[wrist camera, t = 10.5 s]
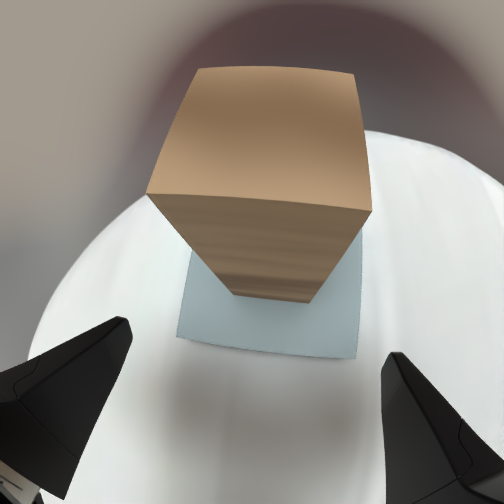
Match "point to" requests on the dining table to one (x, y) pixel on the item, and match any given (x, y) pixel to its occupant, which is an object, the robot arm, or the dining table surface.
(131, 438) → the dining table surface
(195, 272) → the slate base
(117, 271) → the dining table surface
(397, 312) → the dining table surface
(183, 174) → the walnut column
